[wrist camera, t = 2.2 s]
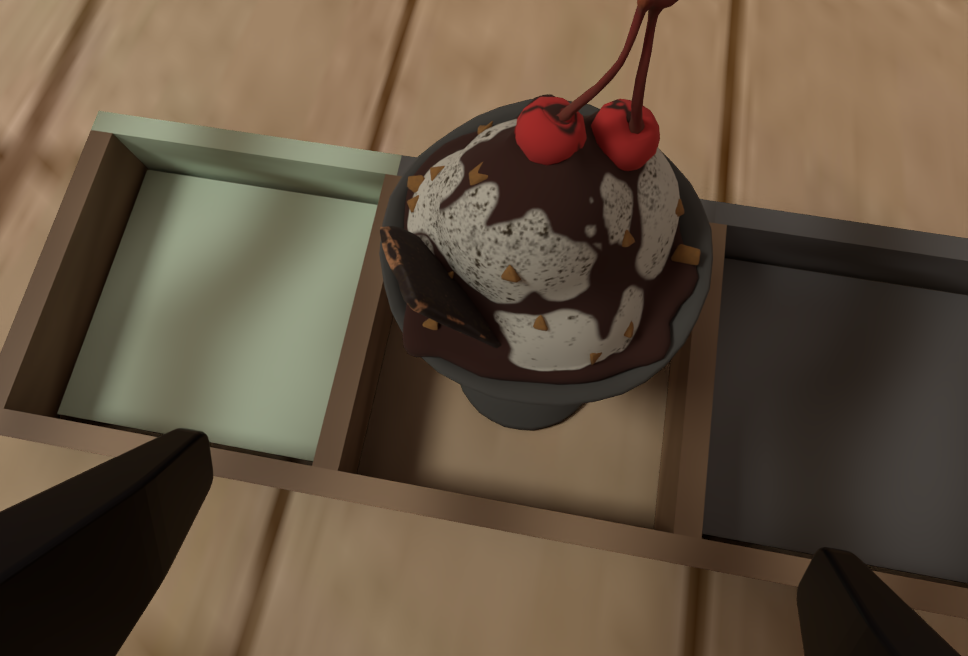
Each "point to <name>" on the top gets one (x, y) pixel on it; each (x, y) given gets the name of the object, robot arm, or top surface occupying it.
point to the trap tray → (366, 324)
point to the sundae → (548, 251)
